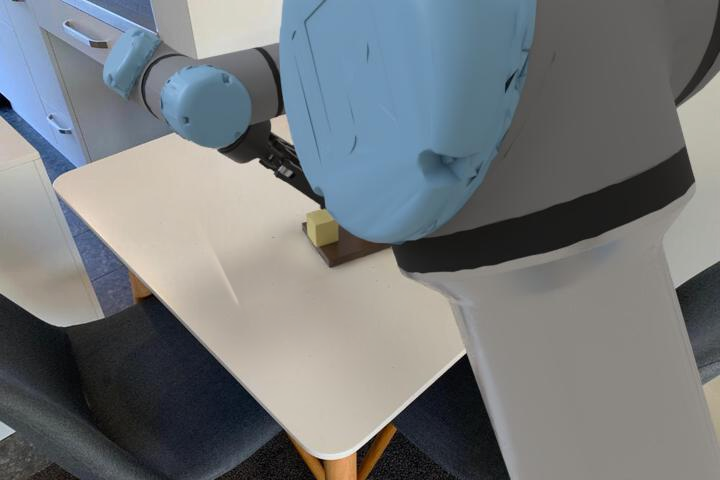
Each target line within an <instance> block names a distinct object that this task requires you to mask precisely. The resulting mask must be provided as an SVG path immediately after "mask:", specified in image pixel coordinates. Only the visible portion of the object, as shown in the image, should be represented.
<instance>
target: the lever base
mask: <svg viewBox="0 0 720 480" xmlns="http://www.w3.org/2000/svg"><path fill="white" fill-rule="evenodd" d="M301 229H302V230H301V231H303V233H304V235H305V236H306V237H307V239H308V240H309V241H310V243H311V245H313V247H314V248H315V250H316V251H317V252H318V254H319V255H320V257H321V258H322V259H323V261H324V262H325V264H326V265H327V267H328V268H333V267H336V266H339V265H341V264H344V263H347V262H350V261H354V260H357V259H359V258H362V257H366V256H368V255H371V254H375V253H378V252H380V251H384V250H386V249H390V248H392V247H391V244H388V243H375V242H370V241H367V240H364V239H362V238H359V237H356V236H355V235H353V234H351V233H350V232H349V231H347V230H346V229H344V228H343V227H342V226H340V225H339V224H338V241H336V242H333V243H329V244H326V245H323V246H320V247H317V248H316V246H315V245H314V244H313V242H312V241H311V239H310V238H309V237H308V234H307V221H303V222H301Z"/></svg>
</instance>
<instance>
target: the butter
mask: <svg viewBox="0 0 720 480" xmlns="http://www.w3.org/2000/svg"><path fill="white" fill-rule="evenodd" d="M305 215H306V216H305V217H306V222H307V234H308V237H309V238H310V239H311V241H312V242H313V244H314V245H315V246H316V248H317V247H320V246H323V245H326V244H329V243H333V242H336V241H338V223H337V222H336V221H335V220H334V219H333V218H332V216H331V215H330V214H329V213H328V212H327V210H326V209H324V210H322V209H320V208H319V209H317V210H313V211H310V212H306V214H305ZM308 237H307V238H308ZM311 241H310V242H311ZM313 244H312V245H313ZM316 248H315V249H316Z"/></svg>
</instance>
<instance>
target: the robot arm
mask: <svg viewBox="0 0 720 480" xmlns="http://www.w3.org/2000/svg"><path fill="white" fill-rule="evenodd" d="M281 5H282V6H281V21H280V26H279V27H280V28H279V35H278V38H279V39H278V40H279V41H278V42H274V43H271V44H266V45H262V46H256V47H251V48H247V49H241V50H236V51H231V52H227V53H222V54H217V55H213V56H207V57H204V58H197V59H196V58H193V57H190V56H188V55H185V54H183V53H181V52H179V51H178V50H176V49H174V48H173V47H172V46H170V45H169V44H167V43H165V42H164V40H163V39H162V38H161V37H157V36H155V35H154V34H152V33H151V32H149V31H147V30H146V29H144V28H142V27H136V26H135V27H132V28H130V29H128V30H127V31H125V32H124V33H123V34H122V35H121V36H120V37H119V38H118V40H117V41H116V42H115V43H114V45H113V47H112V48H111V50H110V52H109V53H108V56H107V58H106V60H105V62H104V65H103V70H102V79H103V82H104V84H105V85H106V86H107V87H108V88H109V89H110V90H112V91H113V92H116V93H117V94H119V95H120V96H122V98H123V99H124V100H126V101H130V102H132V103H133V104H134V105H136V106H138V107H140V108H142V109H144V111H146V112H148V113H149V114H151V115H152V116H153V117H155V118H156V119H158V120H160V121H161V122H162V123H163V124H165V125H166V126H167V127H169V129H170V130H171V131H173V132H174V133H175V134H176V135H178V136H179V137H180V138H182V139H183V140H186V141H188V142H192V143H193V144H196V146H197V145H198V146H199V147H203V148H207V149H212V150H216V151H217V152H218V153H220V154H221V155H223V156H225V157H226V158H228V159H229V160H230V161H233V162H235V163H237V164H241V165H242V164H248V163H250V162H252V161H254V160H256V159H259V160H258V163H259V164H260V165H261V166H263V168H265V169H267V170H271V171H272V172H273V175H274V176H275V178H277V179H279V180H281V181H282V182H284V183H286V184H288V185H290V186H291V187H293V189H295V190H297V191H298V192H299V193H301V194H302V195H304V196H306V197H307V198H309V199H310V200H312V201H313V202H315V203H316V204H317V205H319V210H320V209H322V210H324V209H326V210H327V212H328V213H329V214H330V215H331V216H332V218H333V219H334V220H335V221H336V222H337V223H338V224H339V225H340V226H342V227H343V228H344V229H346V230H347V231H349V232H350V233H351V234H353V235H355V236H356V237H359V238H362V239H364V240H367V241H370V242H375V243H388V244H391V247H390V248H391V251H392V253H393V255H394V256H393V257H394V258H395V262H396V264H397V267H398V270H399V272H400V273H401V275H402V276H404V278H407V279H409V280H412V281H414V282H415V283H418V284H420V285H422V286H425V287H427V288H429V289H430V290H433V291H435V292H438V293H439V294H441V295H442V296H443V297H444V298H446V299H447V300H448V303H449V306H450V309H451V311H452V315H453V317H454V321H455V323H456V326H457V329H458V332H459V335H460V338H461V340H462V344H463V346H464V349H465V352H466V355H467V357H468V361H469V364H470V366H471V369H472V373H473V375H474V378H475V381H476V385H477V386H478V389H479V392H480V395H481V398H482V401H483V404H484V406H485V410H486V412H487V413H486V414H487V415H488V418H489V421H490V424H491V427H492V430H493V432H494V435H495V438H496V441H497V444H498V447H499V451H500V453H501V455H502V458H503V461H504V464H505V467H506V470H507V473H508V475H509V479H510V480H720V443H719V440H718V436H717V433H716V428H715V425H714V422H713V418H712V415H711V411H710V407H709V404H708V400H707V397H706V394H705V390H704V386H703V383H702V379H701V375H700V371H699V369H698V364H697V362H696V358H695V354H694V351H693V347H692V344H691V341H690V337H689V333H688V330H687V327H686V322H685V319H684V316H683V312H682V309H681V305H680V302H679V301H680V300H679V298H678V295H677V292H676V287H675V284H674V280H673V276H672V273H671V270H670V267H669V262H668V259H667V256H666V252H665V249H664V245H663V241H664V238H665V235H666V234H667V232H668V231H669V229H670V228H671V227H672V226H673V224H674V223H675V221H676V220H677V219H678V218H679V216H680V214H682V212H683V211H684V209H685V208H686V207H687V206H688V204H689V202H691V200H692V199H693V198H694V196H695V194H696V192H697V181H696V177H695V174H694V170H693V167H692V164H691V163H692V162H691V160H690V159H691V158H690V156H689V152H688V148H687V144H686V140H685V136H684V132H683V129H682V123H681V121H680V117H679V114H678V109H679V108H680V107H681V106H682V105H683V104H685V103H687V101H689V100H690V99H692V98H693V97H694V96H696V95H697V94H698V93H700V92H701V91H703V89H704V88H705V87H706V86H707V85H708V84H709V83H710V82H711V81H713V79H714V78H715V77H716V76H717V75H718V73H720V0H282V4H281ZM280 116H281V117H282V116H285V117H286V121H287V125H288V129H289V133H290V138H291V141H292V143H291V142H289V141H287V140H285V139H284V138H282V137H281V136H278V135H277V134H276V133H274V132H273V131H272V121H271V120H272V119H275V118H278V117H280Z"/></svg>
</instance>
